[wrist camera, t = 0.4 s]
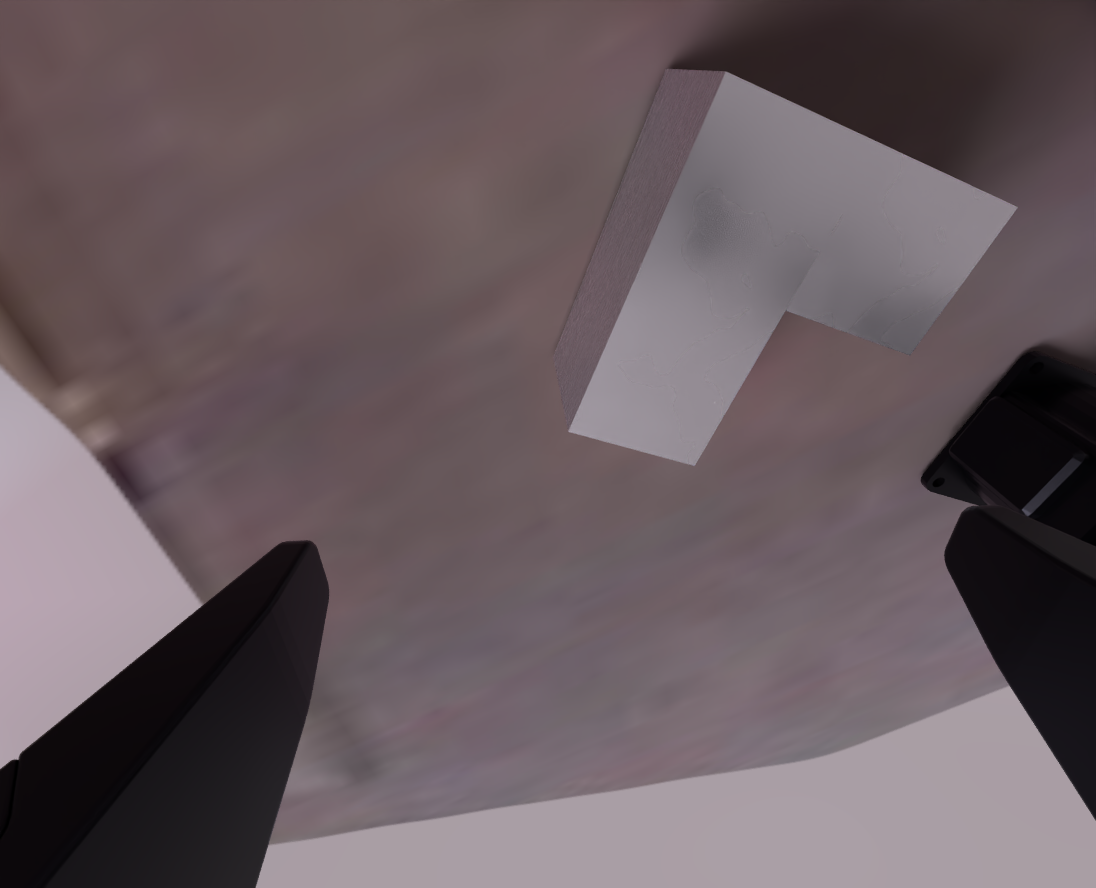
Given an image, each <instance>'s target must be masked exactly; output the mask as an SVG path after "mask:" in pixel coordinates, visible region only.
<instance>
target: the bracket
mask: <svg viewBox="0 0 1096 888" xmlns="http://www.w3.org/2000/svg"><path fill="white" fill-rule="evenodd" d="M1017 208H1018V207H1016V206H1014V205H1012V204H1010V203H1008V202H1006V201H1003V200H1001V199H999V198H997V197H995V196H993V195H991V194H988V193H986V192H984V191H982V190H980V189H978V188H975V187H973V186H971V185H969V184H967V183H965V182H963V181H960V180H958V179H956V178H954V177H952V176H950V175H948V174H945V173H943V172H941V171H939V170H937V169H935V168H932V167H930V166H928V165H926V164H924V163H922V162H920V161H917V160H915V159H913V158H911V157H909V156H907V155H905V154H902V153H900V152H898V151H896V150H894V149H892V148H889V147H887V146H885V145H883V144H881V143H879V142H877V141H874V140H872V139H870V138H868V137H866V136H864V135H862V134H859V133H857V132H855V131H853V130H851V129H849V128H846V127H844V126H842V125H840V124H838V123H836V122H834V121H831V120H829V119H827V118H825V117H823V116H821V115H819V114H816V113H814V112H812V111H810V110H808V109H806V108H803V107H801V106H799V105H797V104H795V103H793V102H791V101H788V100H786V99H784V98H782V97H780V96H778V95H776V94H773V93H771V92H769V91H767V90H765V89H763V88H760V87H758V86H756V85H754V84H752V83H750V82H748V81H745V80H743V79H741V78H739V77H737V76H735V75H732V74H730V73H728V72H726V71H705V70H682V69H666V70H665V73H664V75H663V78H662V80H661V83H660V85H659V88H658V90H657V93H656V96H655V98H654V101H653V103H652V106H651V108H650V111H649V113H648V116H647V118H646V121H645V124H644V126H643V129H642V131H641V134H640V136H639V139H638V141H637V144H636V146H635V149H634V152H633V154H632V157H631V159H630V162H629V164H628V167H627V169H626V172H625V174H624V177H623V180H622V182H621V185H620V187H619V190H618V192H617V195H616V197H615V200H614V202H613V205H612V208H611V210H610V213H609V215H608V218H607V220H606V223H605V225H604V228H603V231H602V233H601V236H600V238H599V241H598V243H597V246H596V248H595V251H594V253H593V256H592V259H591V261H590V264H589V266H588V269H587V271H586V274H585V276H584V279H583V281H582V284H581V287H580V289H579V292H578V294H577V297H576V299H575V302H574V304H573V307H572V309H571V312H570V315H569V317H568V320H567V322H566V325H565V327H564V330H563V332H562V335H561V337H560V340H559V343H558V345H557V348H556V350H555V353H554V355H553V359H554V364H555V369H556V373H557V378H558V383H559V388H560V393H561V398H562V403H563V408H564V413H565V418H566V423H567V428H568V432H571V433H575V434H579V435H583V436H586V437H590V438H594V439H597V440H601V441H605V442H608V443H612V444H616V445H619V446H623V447H627V448H630V449H634V450H638V451H642V452H645V453H649V454H653V455H656V456H660V457H664V458H667V459H671V460H675V461H678V462H682V463H686V464H689V465H693V466H695V464H696V462H697V461H698V459H699V457H700V456H701V454H702V452H703V450H704V449H705V447H706V445H707V444H708V442H709V440H710V439H711V437H712V435H713V433H714V432H715V430H716V428H717V427H718V425H719V423H720V421H721V420H722V418H723V416H724V415H725V413H726V411H727V410H728V408H729V406H730V404H731V403H732V401H733V399H734V398H735V396H736V394H737V392H738V391H739V389H740V387H741V386H742V384H743V382H744V381H745V379H746V377H747V375H748V374H749V372H750V370H751V369H752V367H753V365H754V363H755V362H756V360H757V358H758V357H759V355H760V353H761V352H762V350H763V348H764V346H765V345H766V343H767V341H768V340H769V338H770V336H771V334H772V333H773V331H774V329H775V328H776V326H777V324H778V323H779V321H780V319H781V317H782V316H783V314H784V312H785V311H788V312H791V313H794V314H796V315H799V316H802V317H805V318H807V319H810V320H813V321H816V322H819V323H821V324H824V325H827V326H830V327H832V328H835V329H838V330H841V331H843V332H846V333H849V334H852V335H855V336H857V337H860V338H863V339H866V340H868V341H871V342H874V343H877V344H880V345H882V346H885V347H888V348H891V349H893V350H896V351H899V352H902V353H905V354H907V355H911V353H912V352H913V351H914V349H915V348H916V346H917V345H918V344H919V342H920V341H921V340H922V338H923V337H924V335H925V334H926V333H927V331H928V330H929V329H930V327H931V326H932V324H933V323H934V322H935V320H936V319H937V318H938V316H939V315H940V313H941V312H942V311H943V309H944V308H945V307H946V305H947V304H948V302H949V301H950V300H951V298H952V297H953V296H954V294H955V293H956V292H957V290H958V289H959V287H960V286H961V285H962V283H963V282H964V281H965V279H966V278H967V276H968V275H969V274H970V272H971V271H972V270H973V268H974V267H975V265H976V264H977V263H978V261H979V260H980V259H981V257H982V256H983V254H984V253H985V252H986V250H987V249H988V248H989V246H990V245H991V243H992V242H993V241H994V239H995V238H996V237H997V235H998V234H999V232H1000V231H1001V230H1002V228H1003V227H1004V226H1005V224H1006V223H1007V221H1008V220H1009V219H1010V217H1011V216H1012V215H1013V213H1014V212H1015V210H1016V209H1017Z"/></svg>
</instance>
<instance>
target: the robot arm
mask: <svg viewBox="0 0 1096 888" xmlns="http://www.w3.org/2000/svg"><path fill="white" fill-rule="evenodd" d="M1033 364H1034V365H1033ZM1032 365H1033V366H1032ZM1031 366H1032V367H1031ZM921 483H922V485H923V486H924V487H925V488H926V489H927V490H929V491H931V492H934V493H937V494H941V495H944V496H948V497H951V498H955V499H958V500H962V501H965V502H969V503H972V504H976V505H979V506H971V507H968V508H966V509H965V510H964V511H963V512H962V513H961V515H960V517H959V519H958V521H957V524H956V526H955V528H954V530H953V533H952V535H951V537H950V539H949V542H948V544H947V546H946V549H945V554H944V557H945V563H946V567H947V569H948V571H949V573H950V575H951V577H952V579H953V581H954V583H955V585H956V587H957V589H958V591H959V593H960V595H961V596H962V598H963V600H964V602H965V604H966V606H967V608H968V610H969V612H970V614H971V616H972V618H973V620H974V622H975V624H976V626H977V628H978V630H979V632H980V634H981V636H982V638H983V640H984V642H985V644H986V645H987V647H988V649H989V651H990V653H991V655H992V657H993V659H994V660H995V662H996V664H997V666H998V667H999V669H1000V671H1001V672H1002V674H1003V676H1004V677H1005V679H1006V681H1007V682H1008V684H1009V685H1010V687H1011V689H1012V690H1013V692H1014V693H1015V695H1016V696H1017V698H1018V700H1019V701H1020V703H1021V704H1022V706H1023V707H1024V709H1025V711H1026V712H1027V714H1028V715H1029V717H1030V718H1031V720H1032V721H1033V723H1034V725H1035V726H1036V728H1037V729H1038V731H1039V732H1040V734H1041V736H1042V737H1043V739H1044V740H1045V741H1046V743H1047V745H1048V747H1049V748H1050V749H1051V751H1052V753H1053V754H1054V756H1055V758H1056V759H1057V761H1058V762H1059V764H1060V765H1061V767H1062V768H1063V770H1064V772H1065V773H1066V775H1067V776H1068V778H1069V779H1070V781H1071V782H1072V784H1073V786H1074V787H1075V789H1076V790H1077V792H1078V794H1079V795H1080V797H1081V798H1082V800H1083V801H1084V803H1085V805H1086V806H1087V808H1088V809H1089V811H1090V812H1091V814H1092V815H1093V817H1094V819H1095V820H1096V374H1094V373H1091V372H1089V371H1086V370H1084V369H1081V368H1079V367H1076V366H1073V365H1071V364H1068V363H1066V362H1063V361H1061V360H1058V359H1055V358H1053V357H1050V356H1048V355H1045V354H1042V353H1040V352H1035V351H1033V352H1029V353H1027V354H1025V355H1023V356H1022V357H1021V358H1020V359H1019V360H1018V361H1017V362H1016V364H1015V365H1014V366H1013V367H1012V368H1011V370H1010V371H1009V372H1008V373H1007V374H1006V376H1005V377H1004V378H1003V379H1002V380H1001V382H1000V383H999V384H998V385H997V386H996V388H995V389H994V390H993V391H992V392H991V394H990V395H989V396H988V397H987V398H986V400H985V401H984V402H983V403H982V404H981V406H980V407H979V408H978V409H977V410H976V412H975V413H974V414H973V415H972V416H971V418H970V419H969V420H968V421H967V422H966V424H965V425H964V426H963V427H962V428H961V430H960V431H959V432H958V433H957V434H956V436H955V437H954V438H953V439H952V440H951V442H950V443H949V444H948V445H947V446H946V448H945V449H944V450H943V451H942V452H941V454H940V455H939V456H938V457H937V458H936V460H935V461H934V462H933V463H932V464H931V466H930V467H929V468H928V469H927V470H926V472H925V473H924V474H923V476H922V477H921ZM328 601H329V586H328V581H327V578H326V575H325V572H324V568H323V565H322V562H321V559H320V555H319V552H318V549H317V547H316V545H315V544H314V543H313V542H311V541H308V540H305V541H286V542H282V543H280V544H278V545H277V546H276V547H274V548H273V549H272V550H271V551H269V552H268V553H267V554H266V555H264V556H263V557H262V558H261V559H259V560H258V561H257V562H256V563H255V564H253V565H252V566H251V567H250V568H248V569H247V570H246V571H245V572H243V573H242V574H241V575H240V576H238V577H237V578H236V579H235V580H234V581H232V582H231V583H230V584H229V585H227V586H226V587H225V588H224V589H222V590H221V591H220V592H219V593H218V594H216V595H215V596H214V597H213V598H211V599H210V600H209V601H208V602H206V603H205V604H204V605H203V606H201V607H200V608H199V609H198V610H197V611H195V612H194V613H193V614H192V615H190V616H189V617H188V618H187V619H185V620H184V621H183V622H182V623H181V624H179V625H178V626H177V627H176V628H174V629H173V630H172V631H171V632H169V633H168V634H167V635H166V636H164V637H163V638H162V639H161V640H159V641H158V642H157V643H156V644H155V645H153V646H152V647H151V648H150V649H148V650H147V651H146V652H145V653H143V654H142V655H141V656H140V657H138V658H137V659H136V660H135V661H134V662H132V664H130V665H129V666H127V667H126V668H125V669H124V670H123V671H121V672H120V673H119V674H118V675H116V676H115V677H114V678H113V679H111V680H110V681H109V682H108V683H106V684H105V685H104V686H103V687H101V688H100V689H99V690H98V691H97V692H95V693H94V694H93V695H92V696H90V697H89V698H88V699H87V700H85V701H84V702H83V703H82V704H80V705H79V706H78V707H77V708H76V709H74V710H73V711H72V712H71V713H69V714H68V715H67V716H66V717H65V718H63V719H62V720H61V721H60V722H58V723H57V724H56V725H55V726H53V727H52V728H51V729H50V730H48V731H47V732H46V733H45V734H43V735H42V736H41V737H40V738H38V739H37V740H36V741H35V742H34V743H32V744H31V745H30V746H29V747H27V748H26V749H25V750H24V751H22V753H21V754H20V756H19V760H11V761H10V762H9V763H7V764H6V765H5V766H4V767H2V768H1V769H0V888H256V884H257V881H258V878H259V874H260V871H261V867H262V864H263V861H264V858H265V854H266V851H267V848H268V844H269V841H270V838H271V834H272V831H273V828H274V824H275V821H276V818H277V814H278V811H279V808H280V804H281V801H282V797H283V794H284V791H285V787H286V784H287V781H288V777H289V774H290V771H291V767H292V764H293V761H294V757H295V754H296V751H297V747H298V744H299V741H300V737H301V734H302V731H303V727H304V724H305V720H306V716H307V713H308V709H309V705H310V700H311V695H312V690H313V685H314V680H315V674H316V669H317V663H318V657H319V652H320V646H321V641H322V635H323V630H324V624H325V618H326V613H327V607H328Z"/></svg>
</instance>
